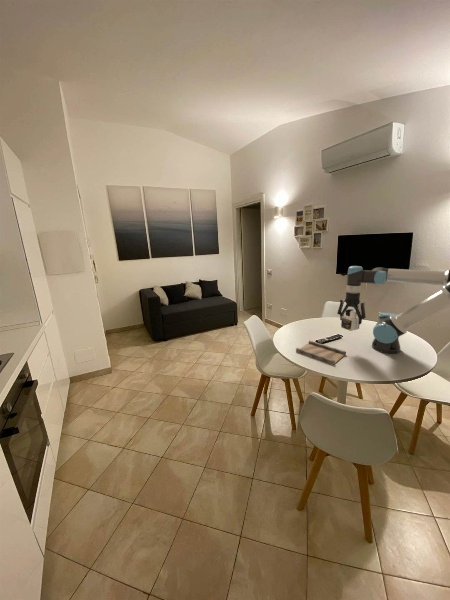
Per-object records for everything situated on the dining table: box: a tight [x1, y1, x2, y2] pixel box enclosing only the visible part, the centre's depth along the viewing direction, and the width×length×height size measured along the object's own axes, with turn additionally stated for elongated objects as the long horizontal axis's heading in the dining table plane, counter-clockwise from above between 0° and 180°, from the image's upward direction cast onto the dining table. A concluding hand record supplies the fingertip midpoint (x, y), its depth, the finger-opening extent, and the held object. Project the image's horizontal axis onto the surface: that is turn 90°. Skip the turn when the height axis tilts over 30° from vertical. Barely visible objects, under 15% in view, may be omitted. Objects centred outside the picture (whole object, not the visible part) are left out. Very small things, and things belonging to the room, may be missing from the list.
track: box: [295, 340, 347, 366], centre depth 150 cm, size 24×17×2 cm
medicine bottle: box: [340, 308, 358, 332], centre depth 151 cm, size 7×7×12 cm
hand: (349, 327), depth 152 cm, fingers closed on medicine bottle, 8 cm apart
